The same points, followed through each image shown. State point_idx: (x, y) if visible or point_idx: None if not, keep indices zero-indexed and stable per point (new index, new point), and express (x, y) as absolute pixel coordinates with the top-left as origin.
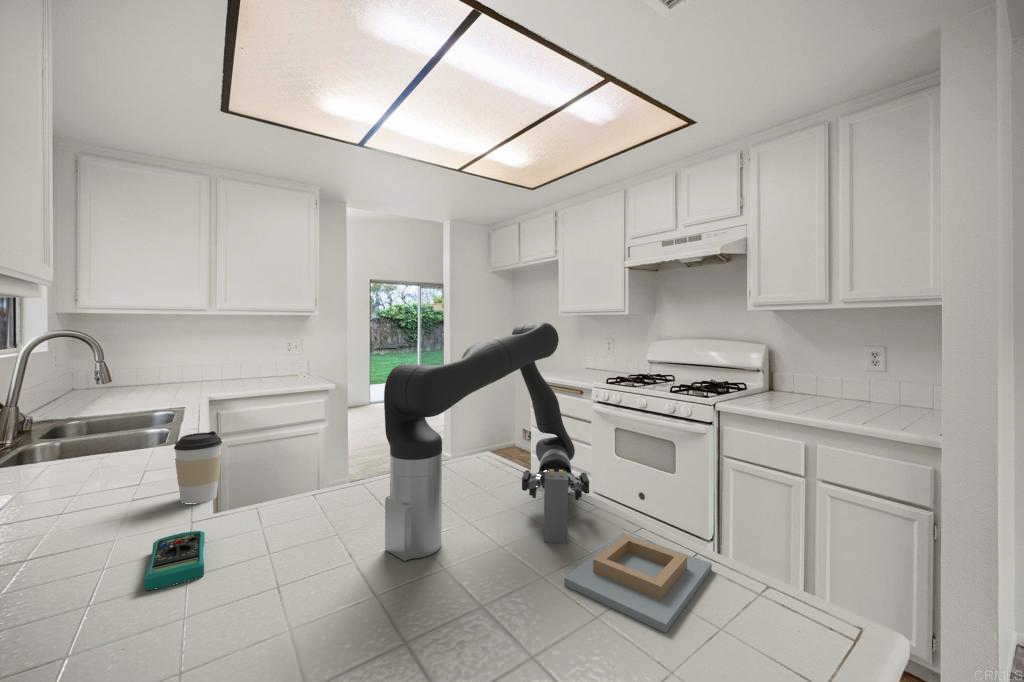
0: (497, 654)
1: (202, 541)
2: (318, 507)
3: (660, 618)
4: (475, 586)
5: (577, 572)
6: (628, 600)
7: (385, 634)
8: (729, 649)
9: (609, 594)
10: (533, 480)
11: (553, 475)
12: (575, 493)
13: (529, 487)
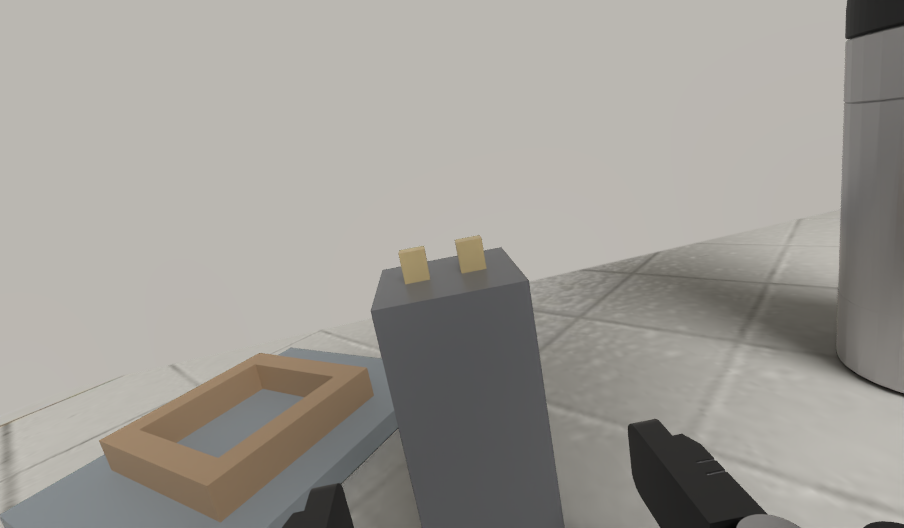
0: None
1: None
2: None
3: (292, 352)
4: (623, 334)
5: None
6: (327, 361)
7: (668, 270)
8: (222, 366)
9: (357, 361)
10: (750, 521)
11: (461, 268)
12: (343, 496)
13: (699, 445)
